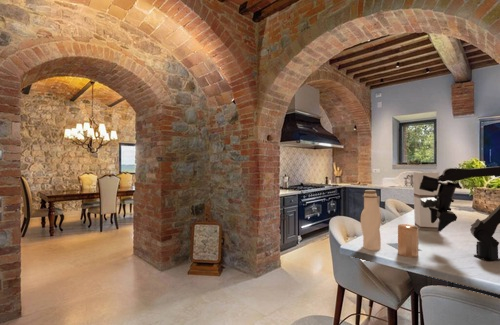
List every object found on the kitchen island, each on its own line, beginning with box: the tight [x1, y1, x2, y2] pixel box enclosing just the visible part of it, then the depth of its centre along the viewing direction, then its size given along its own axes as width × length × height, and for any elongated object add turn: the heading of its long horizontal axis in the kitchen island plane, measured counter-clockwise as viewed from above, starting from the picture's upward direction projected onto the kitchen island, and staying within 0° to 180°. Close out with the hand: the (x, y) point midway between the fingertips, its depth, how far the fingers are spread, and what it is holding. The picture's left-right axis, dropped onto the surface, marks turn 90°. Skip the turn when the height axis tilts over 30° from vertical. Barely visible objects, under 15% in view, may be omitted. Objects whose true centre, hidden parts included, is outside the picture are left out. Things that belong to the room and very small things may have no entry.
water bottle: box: [360, 189, 382, 251], centre depth 126 cm, size 10×9×28 cm
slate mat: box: [387, 242, 423, 252], centre depth 125 cm, size 12×10×1 cm
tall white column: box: [412, 171, 441, 232], centre depth 161 cm, size 11×11×35 cm
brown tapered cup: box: [397, 223, 419, 258], centre depth 115 cm, size 8×8×13 cm
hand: (435, 226), depth 120 cm, fingers open, 9 cm apart
